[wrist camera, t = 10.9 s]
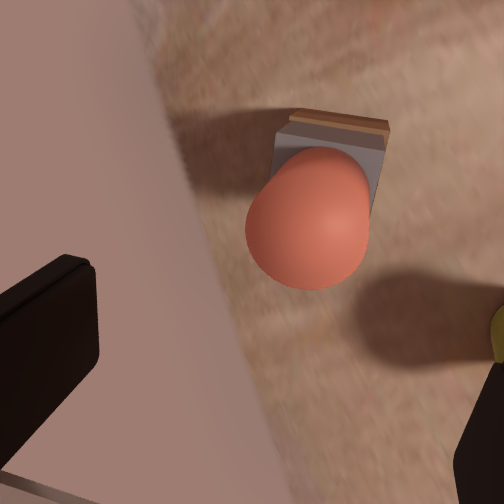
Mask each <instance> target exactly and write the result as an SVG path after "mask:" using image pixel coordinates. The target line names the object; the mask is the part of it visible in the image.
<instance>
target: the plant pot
mask: <svg viewBox="0 0 504 504" xmlns="http://www.w3.org/2000/svg"><path fill="white" fill-rule="evenodd" d="M490 335H491V342H492V347H493V353H494V358H495V363H496V362H498V363H503V361H504V305H503V306H502V307H500V308H499V310H498V311H497V312H496V313H495V315H494V317H493V319H492V321H491V329H490Z"/></svg>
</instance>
